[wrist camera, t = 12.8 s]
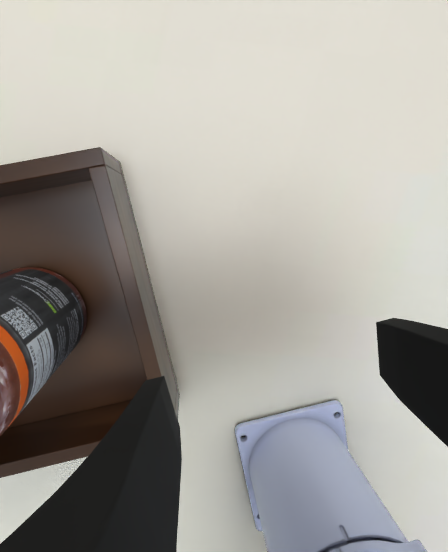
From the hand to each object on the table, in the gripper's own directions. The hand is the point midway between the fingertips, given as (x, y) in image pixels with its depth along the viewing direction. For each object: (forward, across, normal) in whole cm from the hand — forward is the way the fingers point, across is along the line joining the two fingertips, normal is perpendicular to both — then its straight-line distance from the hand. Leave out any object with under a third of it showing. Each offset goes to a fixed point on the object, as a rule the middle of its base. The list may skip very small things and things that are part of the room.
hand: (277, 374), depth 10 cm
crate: (+11, +12, -1) cm, 16 cm away
